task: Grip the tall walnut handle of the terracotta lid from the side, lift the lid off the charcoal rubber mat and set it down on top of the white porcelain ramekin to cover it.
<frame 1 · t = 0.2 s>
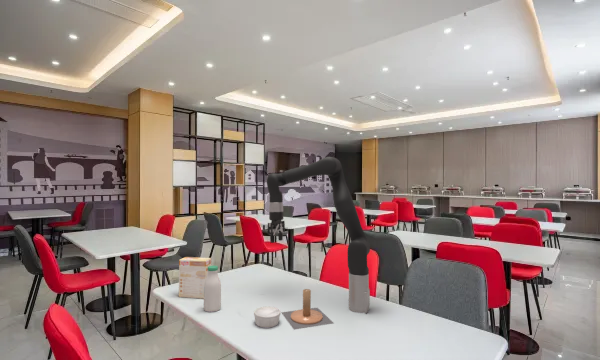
hand: (276, 241, 170), 28 cm above the table, tool pointing down, fingers open, 8 cm apart
ramekin: (267, 324, 136), on the table
lid: (306, 317, 141), resting on mat
milk bottle: (212, 309, 151), on the table
coffeecake box: (195, 296, 168), on the table
mat: (306, 318, 141), on the table
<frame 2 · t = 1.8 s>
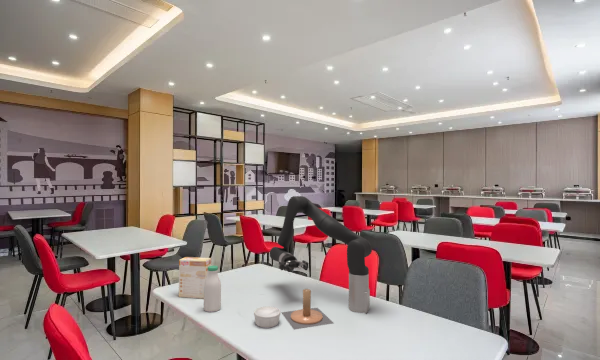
hand: (298, 269, 152), 19 cm above the table, tool horizontal, fingers open, 8 cm apart
nothing on the table moved.
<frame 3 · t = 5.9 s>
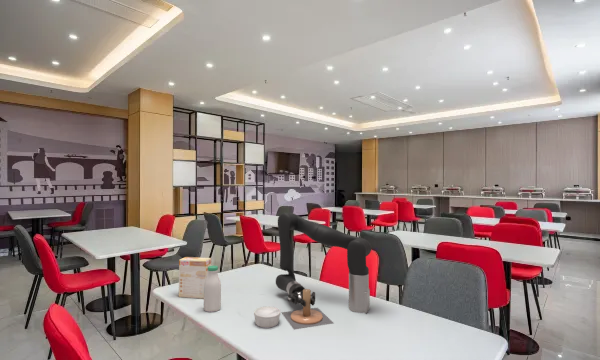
hand: (309, 303, 139), 7 cm above the table, tool horizontal, fingers closed on lid, 3 cm apart
lid: (306, 317, 141), resting on mat, touching gripper
everything else where it was.
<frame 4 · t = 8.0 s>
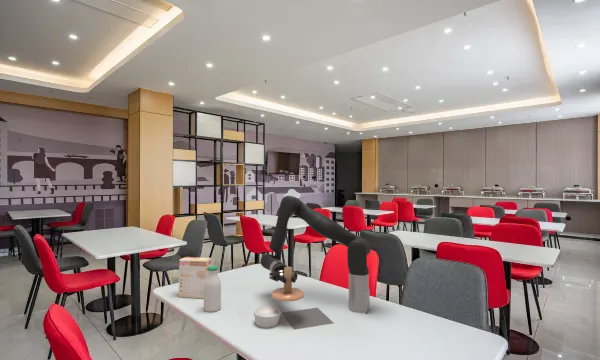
hand: (289, 280, 137), 18 cm above the table, tool horizontal, fingers closed on lid, 3 cm apart
lid: (287, 295, 139), point 11 cm above the table, touching gripper
everything else where it was.
when the fingers open (13 cm above the table, at t = 10.0 s): lid drops 1 cm, resting on ramekin.
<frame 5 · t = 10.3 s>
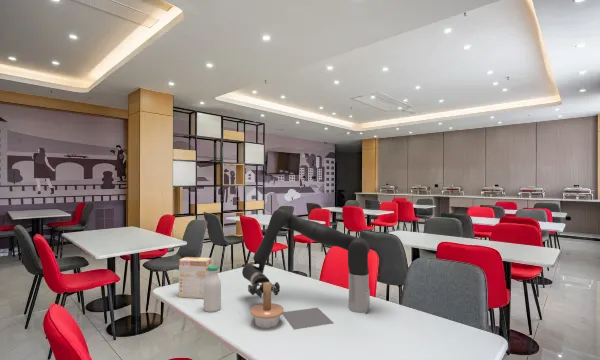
hand: (268, 293, 134), 13 cm above the table, tool horizontal, fingers open, 6 cm apart
ramekin: (266, 324, 136), on the table, touching lid
lid: (267, 311, 136), point 5 cm above the table, touching ramekin
everything else where it was.
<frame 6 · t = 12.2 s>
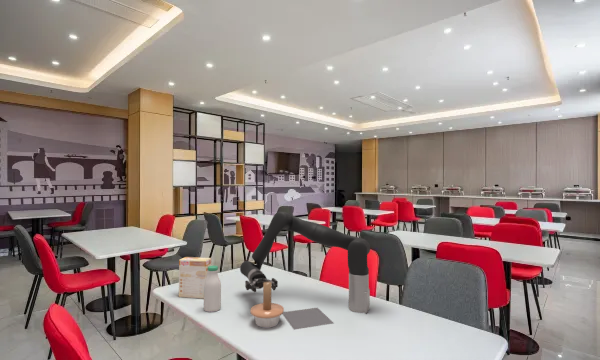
hand: (265, 289, 140), 13 cm above the table, tool horizontal, fingers open, 8 cm apart
nothing on the table moved.
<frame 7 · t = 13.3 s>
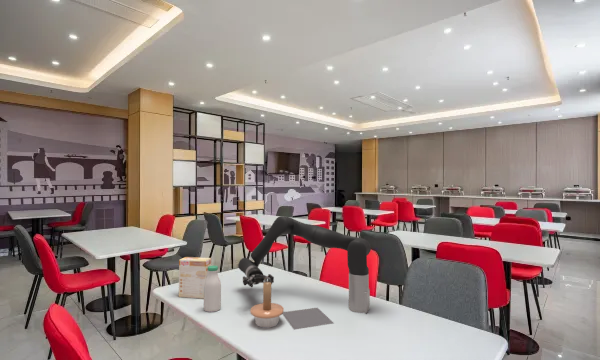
hand: (261, 284, 146), 13 cm above the table, tool horizontal, fingers open, 8 cm apart
nothing on the table moved.
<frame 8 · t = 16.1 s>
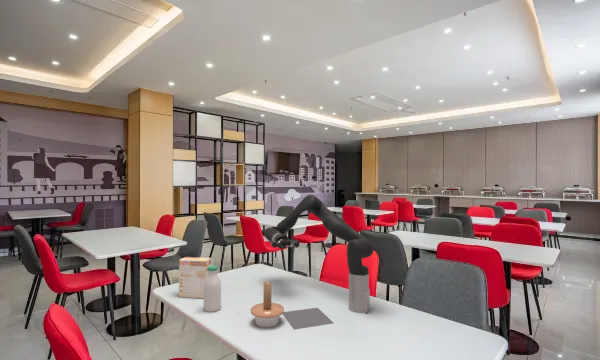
hand: (289, 246, 160), 28 cm above the table, tool horizontal, fingers open, 8 cm apart
nothing on the table moved.
at the end: lid 0.1 cm from the ramekin (horizontally); lid point 4.9 cm above the table; lid tilted 0° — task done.
